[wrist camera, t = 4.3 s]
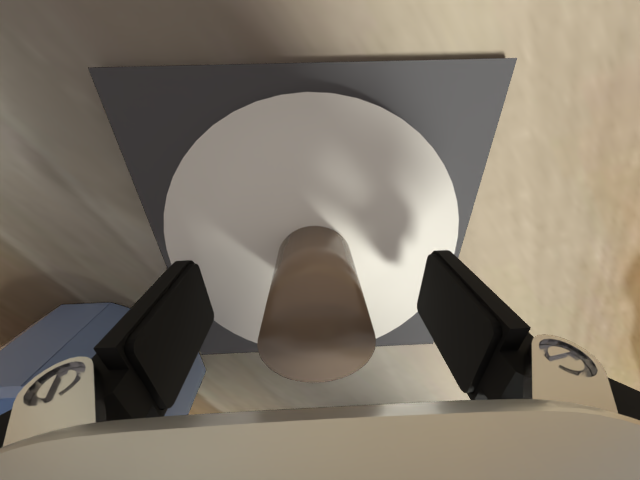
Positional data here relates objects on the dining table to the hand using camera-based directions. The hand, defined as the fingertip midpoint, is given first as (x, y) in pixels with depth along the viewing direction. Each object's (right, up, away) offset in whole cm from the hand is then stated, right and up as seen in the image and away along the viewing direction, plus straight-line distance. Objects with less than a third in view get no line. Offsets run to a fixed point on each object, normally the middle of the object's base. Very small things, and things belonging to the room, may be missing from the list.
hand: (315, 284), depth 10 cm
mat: (0, +2, +3) cm, 4 cm away
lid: (0, +1, +3) cm, 3 cm away
